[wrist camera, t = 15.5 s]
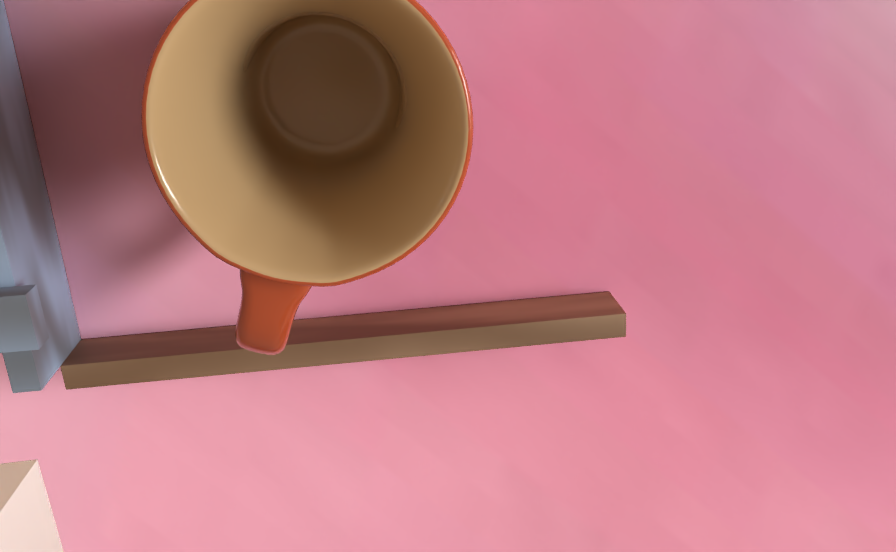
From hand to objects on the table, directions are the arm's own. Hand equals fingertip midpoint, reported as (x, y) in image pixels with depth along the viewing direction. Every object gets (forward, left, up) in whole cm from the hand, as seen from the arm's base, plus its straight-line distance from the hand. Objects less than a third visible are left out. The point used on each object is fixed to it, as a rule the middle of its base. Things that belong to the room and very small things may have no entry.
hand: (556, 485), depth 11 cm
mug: (+1, +4, -24) cm, 24 cm away
